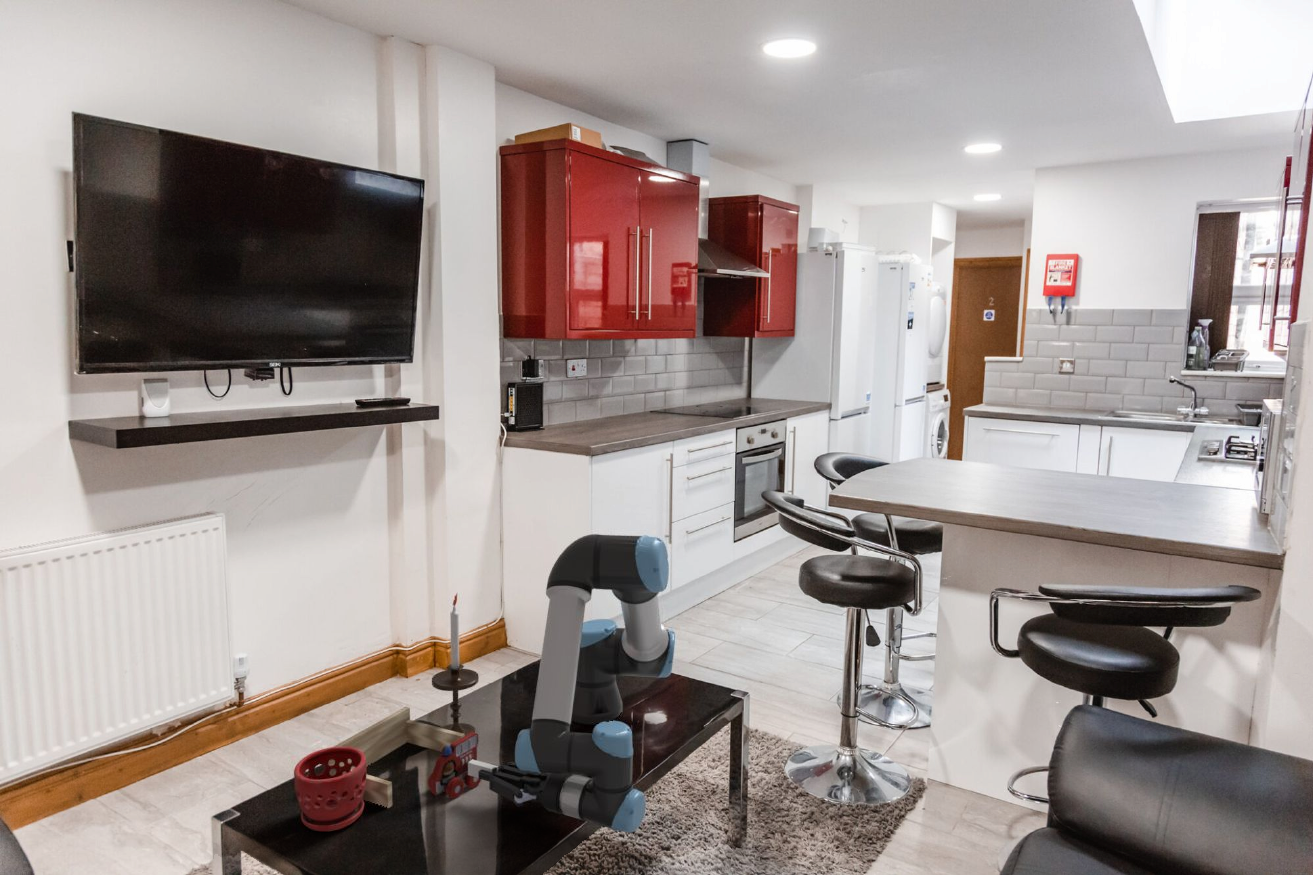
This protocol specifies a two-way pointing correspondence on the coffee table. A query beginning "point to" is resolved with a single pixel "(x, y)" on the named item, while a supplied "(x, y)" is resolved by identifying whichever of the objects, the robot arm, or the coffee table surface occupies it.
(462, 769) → the toy fire truck
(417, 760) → the coffee table surface
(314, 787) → the plant pot
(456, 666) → the candlestick
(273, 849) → the coffee table surface
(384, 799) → the box
